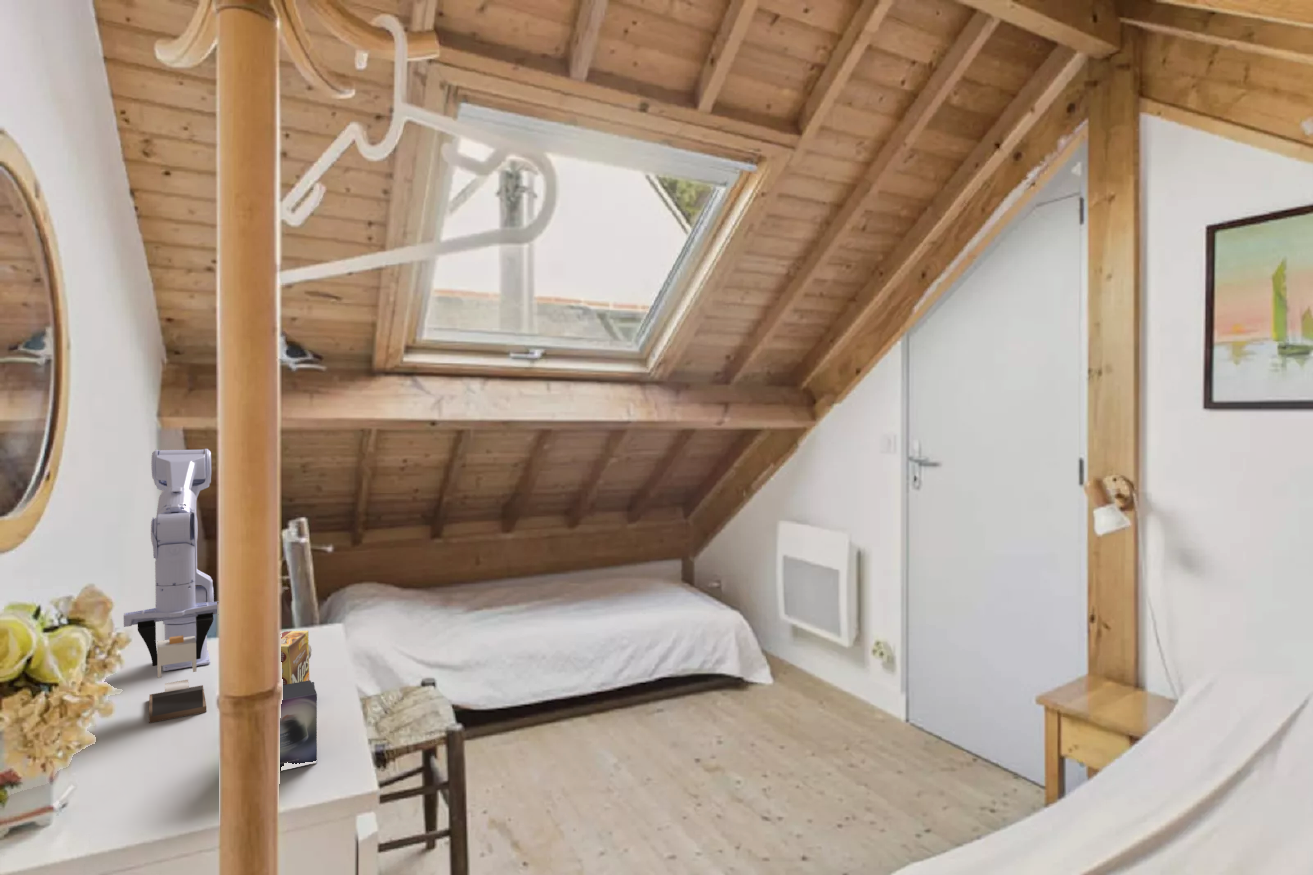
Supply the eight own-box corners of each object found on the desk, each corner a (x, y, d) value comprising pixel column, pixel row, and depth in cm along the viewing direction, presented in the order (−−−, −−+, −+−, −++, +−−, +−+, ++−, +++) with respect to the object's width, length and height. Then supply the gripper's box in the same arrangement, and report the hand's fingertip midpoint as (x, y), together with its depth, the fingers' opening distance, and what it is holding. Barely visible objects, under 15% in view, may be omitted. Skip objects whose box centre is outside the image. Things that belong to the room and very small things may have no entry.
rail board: (149, 700, 128) (149, 677, 128) (202, 690, 132) (202, 668, 132) (148, 723, 118) (148, 698, 118) (206, 711, 123) (206, 688, 122)
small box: (233, 785, 98) (232, 708, 98) (230, 766, 103) (229, 693, 103) (318, 764, 104) (317, 692, 103) (311, 747, 109) (310, 678, 109)
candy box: (291, 746, 109) (290, 646, 109) (261, 748, 109) (260, 647, 108) (311, 722, 118) (310, 629, 118) (284, 724, 117) (282, 630, 117)
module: (157, 670, 125) (157, 636, 125) (195, 663, 128) (194, 631, 128) (157, 678, 121) (157, 643, 121) (196, 671, 124) (195, 638, 124)
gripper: (122, 592, 117) (123, 675, 117) (226, 581, 125) (227, 659, 125) (124, 584, 123) (125, 664, 123) (223, 574, 131) (224, 648, 131)
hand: (176, 661), depth 125 cm, fingers closed on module, 5 cm apart
